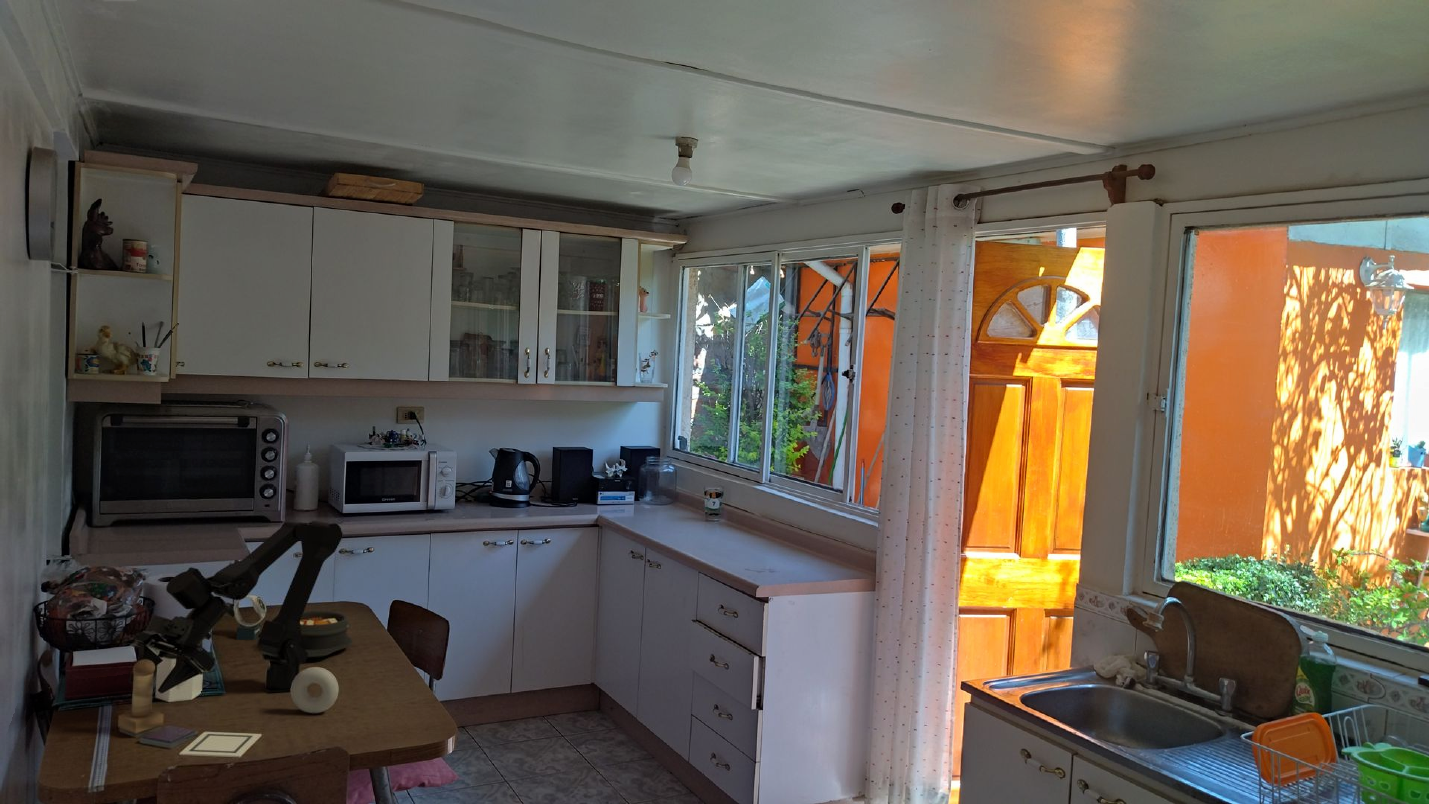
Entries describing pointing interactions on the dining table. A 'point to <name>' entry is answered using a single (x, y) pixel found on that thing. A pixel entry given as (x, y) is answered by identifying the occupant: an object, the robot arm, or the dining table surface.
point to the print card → (220, 744)
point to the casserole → (323, 633)
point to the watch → (250, 629)
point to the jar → (181, 691)
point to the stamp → (141, 703)
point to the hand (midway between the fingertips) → (144, 687)
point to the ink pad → (168, 737)
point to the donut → (309, 702)
